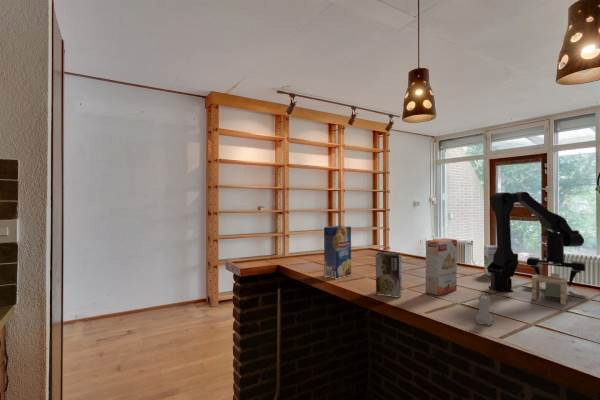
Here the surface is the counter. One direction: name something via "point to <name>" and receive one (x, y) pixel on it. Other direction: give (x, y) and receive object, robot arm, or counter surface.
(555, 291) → the tethered block
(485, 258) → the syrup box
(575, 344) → the counter surface
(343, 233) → the blue food box
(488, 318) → the rook chess piece
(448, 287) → the cracker box
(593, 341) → the counter surface
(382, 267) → the coffee box
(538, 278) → the shelf lane
